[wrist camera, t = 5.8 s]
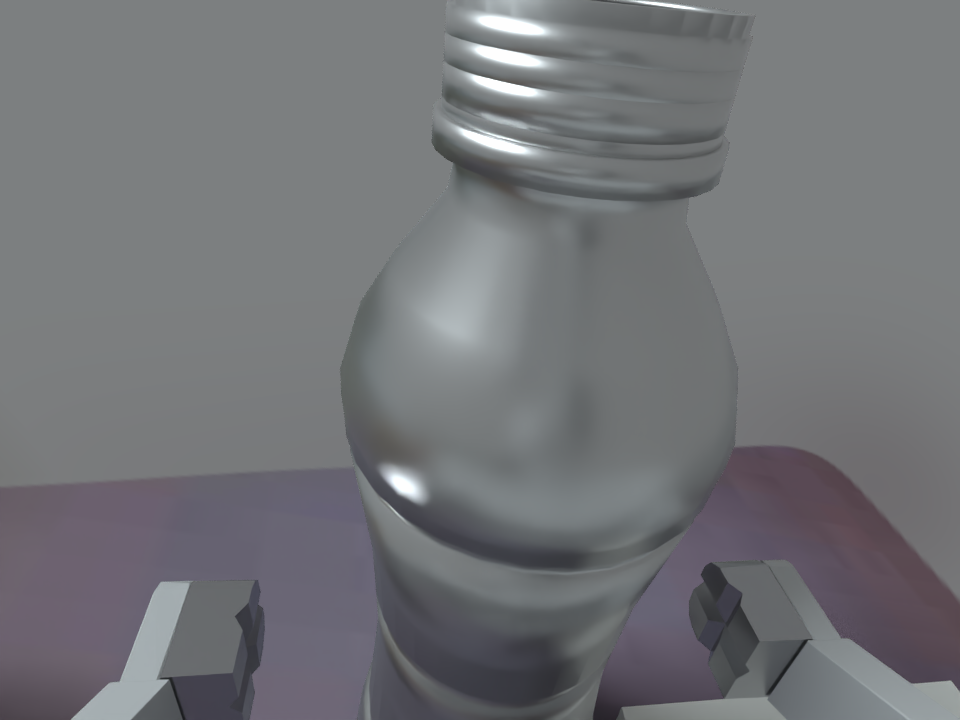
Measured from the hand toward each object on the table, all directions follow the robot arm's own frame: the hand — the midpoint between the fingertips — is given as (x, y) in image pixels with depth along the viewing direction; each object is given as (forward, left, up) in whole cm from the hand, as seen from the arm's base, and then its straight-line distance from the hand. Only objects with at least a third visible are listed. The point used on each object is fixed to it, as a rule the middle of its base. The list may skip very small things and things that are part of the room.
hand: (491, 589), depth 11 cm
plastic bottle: (+1, -1, -11) cm, 11 cm away
